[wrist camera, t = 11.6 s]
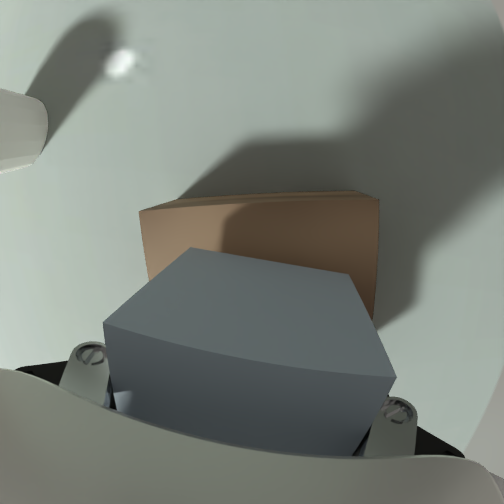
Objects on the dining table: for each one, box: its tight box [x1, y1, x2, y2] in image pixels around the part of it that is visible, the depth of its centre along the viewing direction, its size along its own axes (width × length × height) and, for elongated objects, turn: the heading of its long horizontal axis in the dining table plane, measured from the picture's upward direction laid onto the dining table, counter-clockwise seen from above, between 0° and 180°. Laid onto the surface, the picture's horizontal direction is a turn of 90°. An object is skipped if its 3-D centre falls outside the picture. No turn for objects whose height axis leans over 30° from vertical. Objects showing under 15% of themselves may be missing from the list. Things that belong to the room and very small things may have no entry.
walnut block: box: [139, 191, 379, 321], centre depth 15 cm, size 10×10×5 cm
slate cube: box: [103, 247, 397, 456], centre depth 9 cm, size 6×6×6 cm
